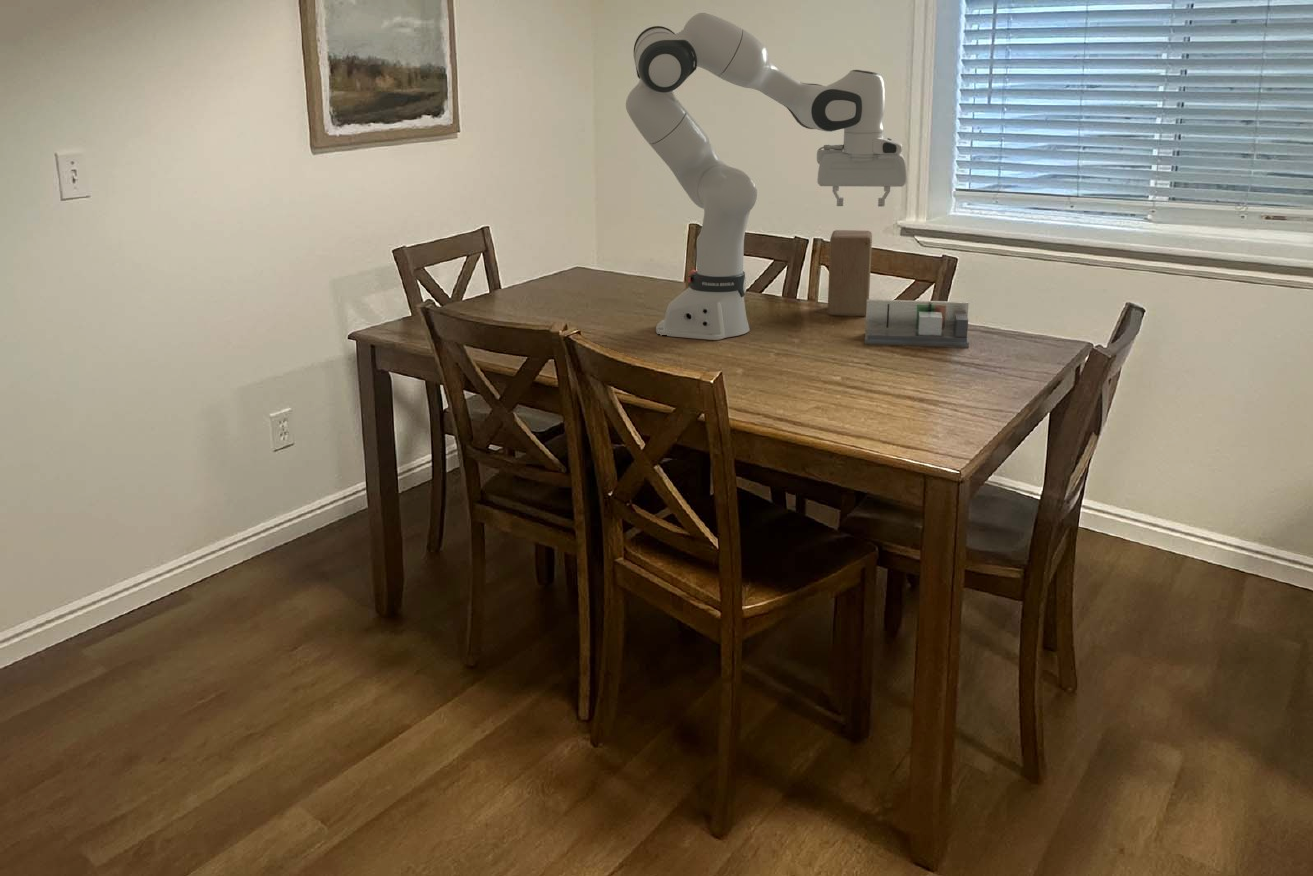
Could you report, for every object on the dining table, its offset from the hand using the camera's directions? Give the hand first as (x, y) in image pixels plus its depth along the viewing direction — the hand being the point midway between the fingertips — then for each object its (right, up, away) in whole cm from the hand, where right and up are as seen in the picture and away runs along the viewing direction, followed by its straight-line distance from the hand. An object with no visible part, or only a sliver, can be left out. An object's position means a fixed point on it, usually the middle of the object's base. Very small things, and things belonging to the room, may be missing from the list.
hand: (860, 205), depth 261 cm
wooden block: (+1, -22, +25) cm, 33 cm away
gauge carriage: (+15, -30, -3) cm, 34 cm away
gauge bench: (+13, -31, -1) cm, 33 cm away
